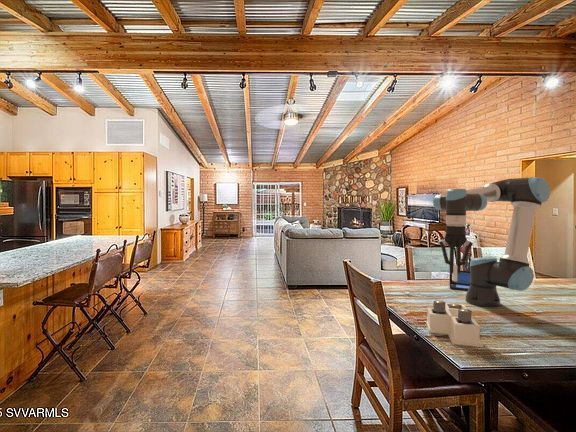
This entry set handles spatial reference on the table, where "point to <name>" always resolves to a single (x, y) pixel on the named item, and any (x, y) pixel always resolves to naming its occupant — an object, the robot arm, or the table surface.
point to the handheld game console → (461, 281)
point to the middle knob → (438, 307)
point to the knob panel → (454, 327)
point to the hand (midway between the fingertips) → (454, 280)
